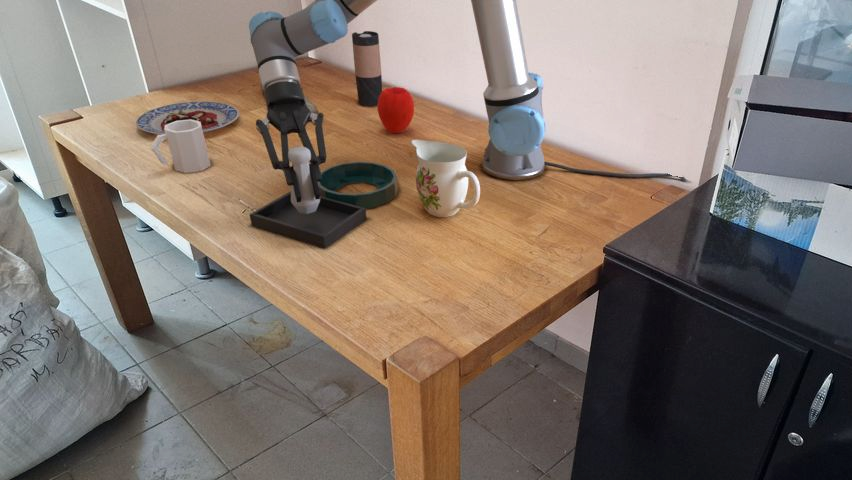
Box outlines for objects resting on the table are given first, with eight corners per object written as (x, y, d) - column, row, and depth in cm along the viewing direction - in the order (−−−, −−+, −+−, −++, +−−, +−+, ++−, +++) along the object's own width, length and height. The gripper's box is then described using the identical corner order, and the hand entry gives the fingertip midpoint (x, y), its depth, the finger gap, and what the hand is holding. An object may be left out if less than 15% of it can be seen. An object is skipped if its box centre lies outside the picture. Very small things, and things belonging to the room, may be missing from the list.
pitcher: (461, 234, 132) (461, 171, 125) (398, 207, 141) (394, 147, 134) (494, 214, 140) (496, 154, 132) (432, 190, 149) (430, 132, 141)
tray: (366, 219, 136) (365, 208, 135) (325, 248, 126) (323, 236, 125) (296, 199, 143) (294, 188, 141) (251, 225, 133) (249, 214, 131)
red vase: (405, 140, 173) (403, 95, 166) (372, 135, 176) (368, 90, 169) (421, 128, 181) (419, 84, 174) (389, 123, 184) (386, 79, 177)
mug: (202, 155, 161) (193, 117, 155) (217, 166, 156) (208, 127, 150) (152, 168, 154) (140, 128, 148) (165, 180, 149) (154, 139, 143)
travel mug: (378, 108, 194) (373, 38, 183) (353, 105, 195) (347, 36, 184) (387, 100, 200) (382, 32, 189) (363, 97, 201) (357, 30, 190)
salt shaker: (295, 217, 130) (285, 156, 122) (289, 205, 134) (279, 145, 127) (324, 212, 132) (317, 152, 125) (318, 200, 136) (310, 141, 129)
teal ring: (412, 185, 151) (411, 171, 149) (367, 216, 137) (365, 201, 135) (349, 169, 157) (348, 156, 155) (301, 198, 143) (298, 183, 141)
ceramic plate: (252, 130, 175) (250, 120, 174) (148, 149, 163) (145, 138, 161) (226, 103, 193) (224, 93, 191) (130, 118, 181) (127, 107, 179)
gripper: (321, 94, 137) (347, 198, 134) (241, 101, 131) (266, 211, 128) (323, 75, 130) (351, 185, 127) (239, 83, 125) (265, 198, 121)
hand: (308, 198), depth 128 cm, fingers closed on salt shaker, 3 cm apart
